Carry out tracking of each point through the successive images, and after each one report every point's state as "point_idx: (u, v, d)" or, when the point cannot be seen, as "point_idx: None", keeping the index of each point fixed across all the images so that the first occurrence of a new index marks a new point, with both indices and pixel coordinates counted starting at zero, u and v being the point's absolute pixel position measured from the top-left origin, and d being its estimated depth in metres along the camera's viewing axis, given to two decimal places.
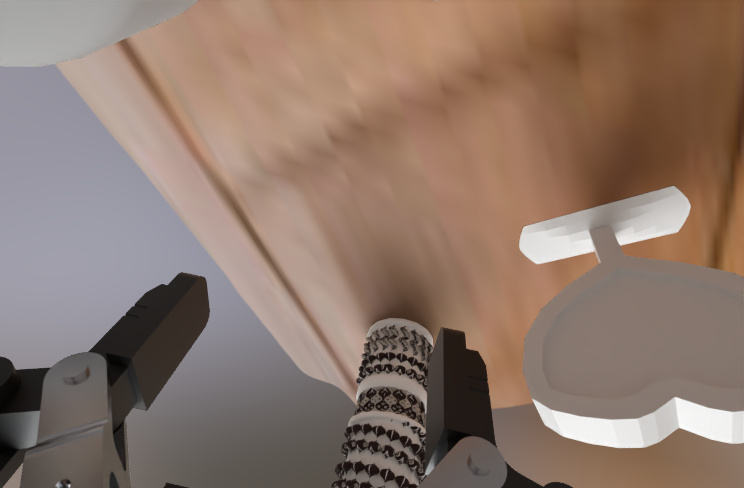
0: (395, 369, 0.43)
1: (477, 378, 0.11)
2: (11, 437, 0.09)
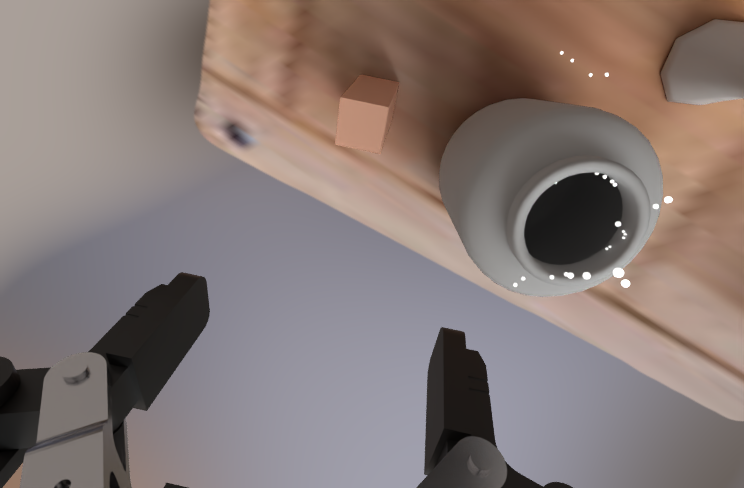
0: None
1: (477, 378, 0.11)
2: (11, 437, 0.09)
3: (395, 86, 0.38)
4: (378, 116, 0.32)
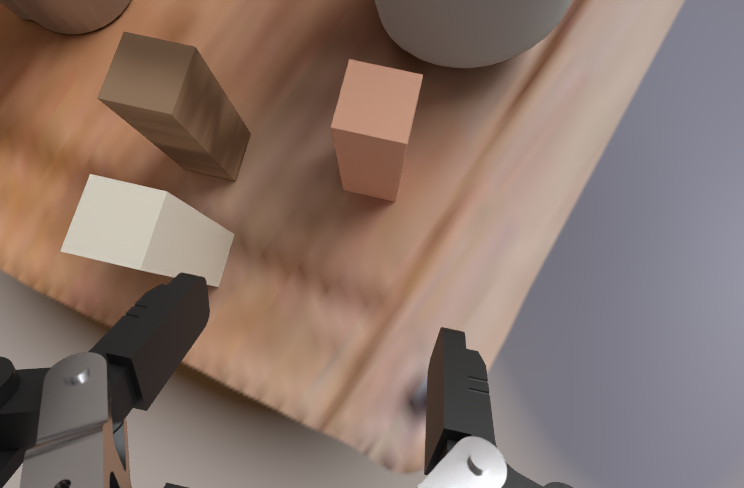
0: None
1: (477, 378, 0.11)
2: (11, 437, 0.09)
3: None
4: (362, 74, 0.21)
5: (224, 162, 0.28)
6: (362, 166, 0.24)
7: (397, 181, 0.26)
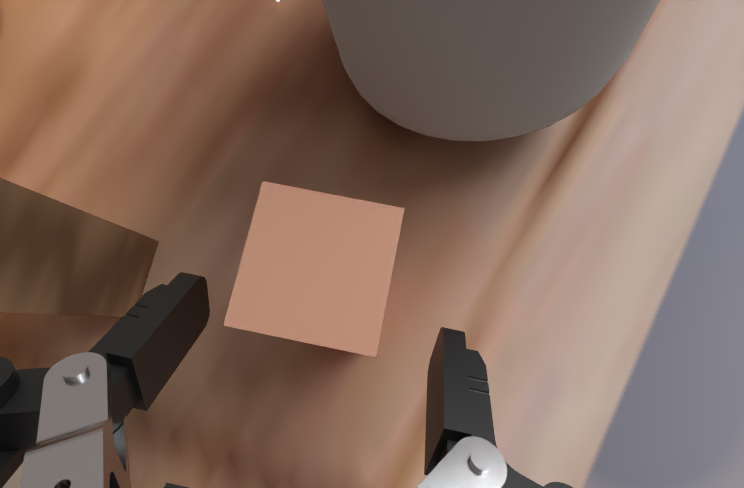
0: None
1: (477, 378, 0.11)
2: (11, 437, 0.09)
3: None
4: (287, 210, 0.11)
5: (101, 307, 0.17)
6: None
7: None
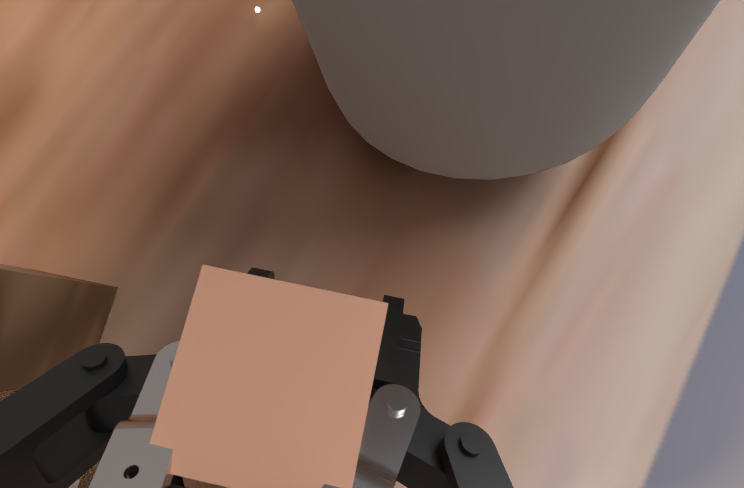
0: None
1: (411, 339, 0.12)
2: (120, 419, 0.10)
3: None
4: (234, 305, 0.08)
5: (40, 375, 0.15)
6: None
7: None
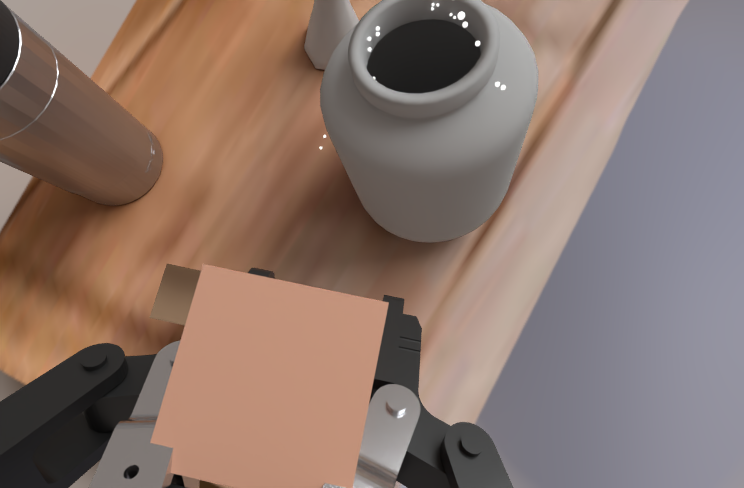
0: None
1: (411, 339, 0.12)
2: (121, 418, 0.10)
3: None
4: (234, 304, 0.08)
5: None
6: None
7: None
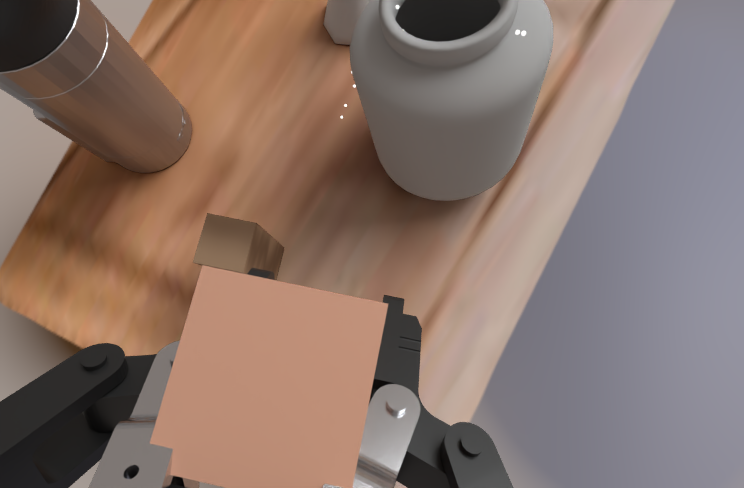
0: None
1: (411, 339, 0.12)
2: (120, 418, 0.10)
3: None
4: (234, 306, 0.08)
5: None
6: None
7: None
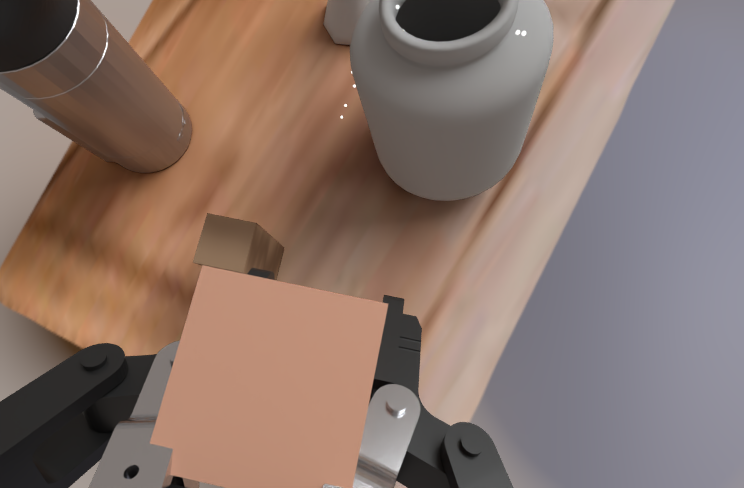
0: None
1: (411, 339, 0.12)
2: (120, 418, 0.10)
3: None
4: (234, 306, 0.08)
5: None
6: None
7: None
